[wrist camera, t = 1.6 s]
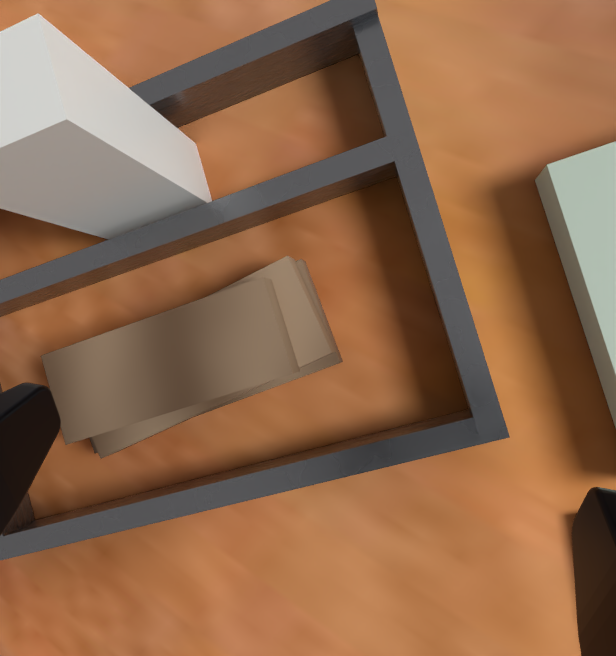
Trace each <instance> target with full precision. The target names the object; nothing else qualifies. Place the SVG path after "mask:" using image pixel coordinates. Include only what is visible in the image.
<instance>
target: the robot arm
mask: <svg viewBox="0 0 616 656" xmlns="http://www.w3.org/2000/svg"><path fill="white" fill-rule="evenodd" d="M60 425H61V419H60V415H59V412H58V409H57V407H56V404H55V401H54V398H53V395H52V392H51V390H50V389H49V388H48V387H47V386H44V385H39V384H33V383H22V384H20V385H18V386H16V387H13V388H11V389H9V390H7V391H5V392H3V393H1V394H0V536H1V534H2V533H3V531H4V530H5V528H6V527H7V525H8V524H9V522H10V521H11V519H12V517H13V516H14V514H15V513H16V511H17V509H18V508H19V506H20V504H21V502H22V501H23V499H24V497H25V495H26V493H27V492H28V490H29V488H30V486H31V484H32V482H33V480H34V478H35V476H36V474H37V472H38V471H39V469H40V467H41V465H42V463H43V461H44V459H45V457H46V455H47V453H48V452H49V450H50V448H51V446H52V444H53V442H54V440H55V438H56V436H57V434H58V432H59V429H60ZM572 546H573V562H574V578H575V594H576V609H577V624H578V635H579V642H580V649H581V656H616V490H611V489H605V488H600V487H593V488H591V489H590V490H589V492H588V493H587V495H586V497H585V499H584V501H583V503H582V505H581V507H580V509H579V510H578V512H577V514H576V516H575V518H574V521H573V525H572Z"/></svg>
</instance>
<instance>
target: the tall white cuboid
mask: <svg viewBox="0 0 616 656" xmlns="http://www.w3.org/2000/svg"><path fill="white" fill-rule="evenodd" d="M211 201H212V199H211V195H210V192H209V188H208V185H207V181H206V178H205V174H204V171H203V167H202V164H201V160H200V157H199V153H198V150H197V146H196V143H194V142H193V141H192V140H191V139H190V138H188V137H187V136H186V135H185V134H184V133H182V132H181V131H180V130H179V129H178V128H176V127H175V126H174V125H173V124H171V123H170V122H169V121H168V120H167V119H165V118H164V117H163V116H162V115H161V114H159V113H158V112H157V111H156V110H155V109H153V108H152V107H151V106H150V105H148V104H147V103H146V102H145V101H144V100H142V99H141V98H140V97H139V96H138V95H136V94H135V93H134V92H133V91H132V90H130V89H129V88H128V87H127V86H125V85H124V84H123V83H122V82H121V81H119V80H118V79H117V78H116V77H115V76H113V75H112V74H111V73H110V72H109V71H107V70H106V69H105V68H104V67H103V66H101V65H100V64H99V63H98V62H96V61H95V60H94V59H93V58H92V57H90V56H89V55H88V54H87V53H86V52H84V51H83V50H82V49H81V48H80V47H78V46H77V45H76V44H75V43H73V42H72V41H71V40H70V39H69V38H67V37H66V36H65V35H64V34H63V33H61V32H60V31H59V30H58V29H57V28H55V27H54V26H53V25H52V24H50V23H49V22H48V21H47V20H46V19H44V18H43V17H42V16H41V15H40V14H36V15H34V16H32V17H30V18H28V19H26V20H24V21H21V22H19V23H17V24H15V25H13V26H11V27H9V28H7V29H5V30H3V31H1V32H0V209H4V210H7V211H11V212H14V213H18V214H21V215H25V216H28V217H32V218H35V219H39V220H42V221H46V222H49V223H53V224H56V225H60V226H63V227H67V228H70V229H74V230H77V231H81V232H84V233H88V234H91V235H95V236H98V237H102V238H105V239H108V240H109V239H112V238H115V237H117V236H120V235H123V234H125V233H128V232H131V231H133V230H136V229H139V228H141V227H144V226H147V225H150V224H152V223H155V222H158V221H160V220H163V219H166V218H168V217H171V216H174V215H176V214H179V213H182V212H184V211H187V210H190V209H193V208H195V207H198V206H201V205H203V204H206V203H209V202H211Z"/></svg>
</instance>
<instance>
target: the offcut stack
mask: <svg viewBox="0 0 616 656" xmlns="http://www.w3.org/2000/svg"><path fill="white" fill-rule="evenodd" d="M41 358H42V362H43V365H44V369H45V372H46V376H47V380H48V383H49V387H50V390H51V392H52V395H53V398H54V401H55V404H56V407H57V409H58V412H59V415H60V419H61V425H60V426H61V430H62V433H63V437H64V440H65V444H66V445H67V444H70V443H73V442H77V441H80V440H83V439H86V438H90V441H91V444H92V447H93V450H94V453H99V456H100V458H104V457H106V456H108V455H111V454H113V453H116V452H118V451H120V450H122V449H125V448H127V447H129V446H131V445H133V444H135V443H138V442H140V441H142V440H144V439H146V438H149V437H151V436H153V435H155V434H157V433H160V432H162V431H164V430H166V429H168V428H170V427H173V426H175V425H177V424H179V423H181V422H184V421H186V420H188V419H190V418H192V417H195V416H198V415H200V414H203V413H206V412H209V411H211V410H214V409H217V408H219V407H222V406H225V405H227V404H230V403H233V402H236V401H238V400H241V399H244V398H246V397H249V396H252V395H254V394H257V393H260V392H263V391H265V390H268V389H271V388H273V387H276V386H279V385H282V384H284V383H287V382H290V381H292V380H295V379H298V378H300V377H303V376H306V375H309V374H311V373H314V372H317V371H319V370H322V369H325V368H327V367H330V366H333V365H336V364H338V363H341V362H343V361H342V358H341V355H340V353H339V350H338V347H337V345H336V342H335V339H334V337H333V334H332V331H331V329H330V326H329V323H328V321H327V318H326V315H325V313H324V310H323V307H322V305H321V302H320V299H319V297H318V294H317V291H316V289H315V286H314V283H313V281H312V278H311V275H310V273H309V270H308V267H307V265H306V262H305V261H304V260H302V259H300V260H297V261H295V259H293V258H291V257H289V256H286V257H284V258H282V259H280V260H278V261H276V262H274V263H272V264H270V265H268V266H266V267H264V268H262V269H260V270H258V271H256V272H254V273H252V274H250V275H248V276H246V277H245V278H243V279H241V280H239V281H237V282H235V283H233V284H231V285H229V286H227V287H225V288H223V289H221V290H219V291H217V292H215V293H213V294H211V295H209V296H207V297H205V298H202V299H199V300H196V301H193V302H191V303H188V304H185V305H182V306H179V307H177V308H174V309H171V310H168V311H165V312H163V313H160V314H157V315H154V316H151V317H149V318H146V319H143V320H140V321H137V322H134V323H132V324H129V325H126V326H123V327H120V328H118V329H115V330H112V331H109V332H106V333H104V334H101V335H98V336H95V337H92V338H89V339H87V340H84V341H81V342H78V343H75V344H73V345H70V346H67V347H64V348H61V349H59V350H56V351H53V352H50V353H47V354H44V355H42V356H41Z"/></svg>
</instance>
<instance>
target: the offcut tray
mask: <svg viewBox="0 0 616 656" xmlns="http://www.w3.org/2000/svg"><path fill="white" fill-rule="evenodd" d="M356 54H359V55H360V59H361V62H362V65H363V68H364V72H365V75H366V78H367V81H368V85H369V88H370V91H371V94H372V97H373V101H374V104H375V107H376V110H377V114H378V117H379V120H380V123H381V127H382V130H383V133H384V136H385V137H384V138H381V139H378V140H376V141H373V142H370V143H367V144H365V145H362V146H359V147H357V148H354V149H351V150H349V151H346V152H343V153H341V154H338V155H335V156H333V157H330V158H327V159H324V160H322V161H319V162H316V163H314V164H311V165H308V166H306V167H303V168H300V169H298V170H295V171H292V172H289V173H287V174H284V175H281V176H279V177H276V178H273V179H271V180H268V181H265V182H263V183H260V184H257V185H254V186H252V187H249V188H246V189H244V190H241V191H238V192H236V193H233V194H230V195H228V196H225V197H222V198H219V199H217V200H214V201H211V202H209V203H206V204H203V205H201V206H198V207H195V208H193V209H190V210H187V211H184V212H182V213H179V214H176V215H174V216H171V217H168V218H166V219H163V220H160V221H158V222H155V223H152V224H150V225H147V226H144V227H141V228H139V229H136V230H133V231H131V232H128V233H125V234H123V235H120V236H117V237H115V238H112V239H109V240H106V241H104V242H101V243H98V244H96V245H93V246H90V247H88V248H85V249H82V250H80V251H77V252H74V253H71V254H69V255H66V256H63V257H61V258H58V259H55V260H53V261H50V262H47V263H45V264H42V265H39V266H36V267H34V268H31V269H28V270H26V271H23V272H20V273H18V274H15V275H12V276H10V277H7V278H4V279H1V280H0V317H1V316H4V315H7V314H9V313H12V312H15V311H18V310H21V309H23V308H26V307H29V306H32V305H35V304H38V303H40V302H43V301H46V300H49V299H52V298H54V297H57V296H60V295H63V294H66V293H69V292H71V291H74V290H77V289H80V288H83V287H85V286H88V285H91V284H94V283H97V282H100V281H102V280H105V279H108V278H111V277H114V276H117V275H119V274H122V273H125V272H128V271H131V270H133V269H136V268H139V267H142V266H145V265H148V264H150V263H153V262H156V261H159V260H162V259H164V258H167V257H170V256H173V255H176V254H179V253H181V252H184V251H187V250H190V249H193V248H195V247H198V246H201V245H204V244H207V243H210V242H212V241H215V240H218V239H221V238H224V237H227V236H229V235H232V234H235V233H238V232H241V231H243V230H246V229H249V228H252V227H255V226H258V225H260V224H263V223H266V222H269V221H272V220H274V219H277V218H280V217H283V216H286V215H289V214H291V213H294V212H297V211H300V210H303V209H305V208H308V207H311V206H314V205H317V204H320V203H322V202H325V201H328V200H331V199H334V198H337V197H339V196H342V195H345V194H348V193H351V192H353V191H356V190H359V189H362V188H365V187H368V186H370V185H373V184H376V183H379V182H382V181H384V180H387V179H390V178H393V177H396V176H397V178H398V182H399V185H400V188H401V191H402V195H403V198H404V201H405V204H406V208H407V211H408V214H409V217H410V221H411V224H412V227H413V230H414V234H415V237H416V240H417V243H418V246H419V250H420V253H421V256H422V259H423V263H424V266H425V269H426V272H427V276H428V279H429V282H430V285H431V289H432V292H433V295H434V298H435V302H436V305H437V308H438V311H439V315H440V318H441V321H442V324H443V327H444V331H445V334H446V337H447V340H448V344H449V347H450V350H451V353H452V357H453V360H454V363H455V366H456V370H457V373H458V376H459V379H460V383H461V386H462V389H463V392H464V395H465V399H466V402H467V405H468V408H469V409H468V410H464V411H460V412H456V413H452V414H448V415H444V416H440V417H436V418H432V419H429V420H425V421H421V422H417V423H413V424H409V425H405V426H401V427H397V428H393V429H390V430H386V431H382V432H378V433H374V434H370V435H366V436H362V437H358V438H354V439H350V440H347V441H343V442H339V443H335V444H331V445H327V446H323V447H319V448H315V449H311V450H308V451H304V452H300V453H296V454H292V455H288V456H284V457H280V458H276V459H272V460H269V461H265V462H261V463H257V464H253V465H249V466H245V467H241V468H237V469H233V470H229V471H226V472H222V473H218V474H214V475H210V476H206V477H202V478H198V479H194V480H190V481H187V482H183V483H179V484H175V485H171V486H167V487H163V488H159V489H155V490H151V491H147V492H144V493H140V494H136V495H132V496H128V497H124V498H120V499H116V500H112V501H108V502H105V503H101V504H97V505H93V506H89V507H85V508H81V509H77V510H73V511H69V512H66V513H62V514H58V515H54V516H50V517H46V518H42V519H38V520H35V518H34V515H33V511H32V507H31V503H30V499H29V495H28V492H27V493H26V495H25V497H24V499H23V501H22V502H21V504H20V506H19V508H18V509H17V511H16V513H15V514H14V516H13V517H12V519H11V521H10V522H9V524H8V525H7V527H6V528H5V530H4V531H3V533H2V534H1V536H0V560H4V559H8V558H12V557H16V556H20V555H25V554H29V553H33V552H37V551H41V550H45V549H49V548H54V547H58V546H62V545H66V544H70V543H74V542H78V541H82V540H87V539H91V538H95V537H99V536H103V535H107V534H111V533H116V532H120V531H124V530H128V529H132V528H136V527H140V526H145V525H149V524H153V523H157V522H161V521H165V520H169V519H173V518H178V517H182V516H186V515H190V514H194V513H198V512H202V511H207V510H211V509H215V508H219V507H223V506H227V505H231V504H236V503H240V502H244V501H248V500H252V499H256V498H260V497H265V496H269V495H273V494H277V493H281V492H285V491H289V490H293V489H298V488H302V487H306V486H310V485H314V484H318V483H322V482H327V481H331V480H335V479H339V478H343V477H347V476H351V475H356V474H360V473H364V472H368V471H372V470H376V469H380V468H384V467H389V466H393V465H397V464H401V463H405V462H409V461H413V460H418V459H422V458H426V457H430V456H434V455H438V454H442V453H447V452H451V451H455V450H459V449H463V448H467V447H471V446H475V445H480V444H484V443H488V442H492V441H496V440H500V439H504V438H509V433H508V430H507V427H506V424H505V421H504V417H503V414H502V411H501V408H500V405H499V401H498V398H497V395H496V392H495V389H494V385H493V382H492V379H491V376H490V373H489V369H488V366H487V363H486V360H485V357H484V353H483V350H482V347H481V344H480V341H479V337H478V334H477V331H476V328H475V325H474V321H473V318H472V315H471V312H470V309H469V305H468V302H467V299H466V296H465V293H464V289H463V286H462V283H461V280H460V277H459V273H458V270H457V267H456V264H455V261H454V257H453V254H452V251H451V248H450V245H449V241H448V238H447V235H446V232H445V229H444V225H443V222H442V219H441V216H440V213H439V209H438V206H437V203H436V200H435V197H434V193H433V190H432V187H431V184H430V181H429V177H428V174H427V171H426V168H425V165H424V161H423V158H422V155H421V152H420V149H419V145H418V142H417V139H416V136H415V133H414V129H413V126H412V123H411V120H410V117H409V113H408V110H407V107H406V104H405V101H404V97H403V94H402V91H401V88H400V85H399V81H398V78H397V75H396V72H395V69H394V65H393V62H392V59H391V56H390V53H389V49H388V46H387V43H386V40H385V37H384V33H383V30H382V27H381V24H380V21H379V17H378V12H377V7H376V3H375V0H330V1H328V2H326V3H323V4H321V5H319V6H316V7H314V8H312V9H310V10H307V11H305V12H303V13H300V14H298V15H296V16H293V17H291V18H289V19H287V20H284V21H282V22H280V23H277V24H275V25H273V26H270V27H268V28H266V29H264V30H261V31H259V32H257V33H254V34H252V35H250V36H247V37H245V38H243V39H241V40H238V41H236V42H234V43H231V44H229V45H227V46H224V47H222V48H220V49H218V50H215V51H213V52H211V53H208V54H206V55H204V56H201V57H199V58H197V59H195V60H192V61H190V62H188V63H185V64H183V65H181V66H178V67H176V68H174V69H172V70H169V71H167V72H165V73H162V74H160V75H158V76H155V77H153V78H151V79H148V80H146V81H144V82H142V83H139V84H137V85H135V86H132V87H130V88H129V89H130V90H132V91H133V92H134V93H135V94H136V95H138V96H139V97H140V98H141V99H142V100H144V101H145V102H146V103H147V104H148V105H150V106H151V107H152V108H153V109H155V110H156V111H157V112H158V113H159V114H161V115H162V116H163V117H164V118H165V119H167V120H168V121H169V122H170V123H171V124H173V125H174V126H175V127H176V128H178V127H180V126H182V125H185V124H187V123H190V122H192V121H195V120H197V119H200V118H202V117H204V116H207V115H209V114H212V113H214V112H217V111H219V110H222V109H224V108H227V107H229V106H231V105H234V104H236V103H239V102H241V101H244V100H246V99H249V98H251V97H253V96H256V95H258V94H261V93H263V92H266V91H268V90H271V89H273V88H275V87H278V86H280V85H283V84H285V83H288V82H290V81H293V80H295V79H297V78H300V77H302V76H305V75H307V74H310V73H312V72H315V71H317V70H320V69H322V68H324V67H327V66H329V65H332V64H334V63H337V62H339V61H342V60H344V59H346V58H349V57H351V56H354V55H356ZM1 393H3V392H2V388H1V384H0V394H1Z"/></svg>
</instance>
